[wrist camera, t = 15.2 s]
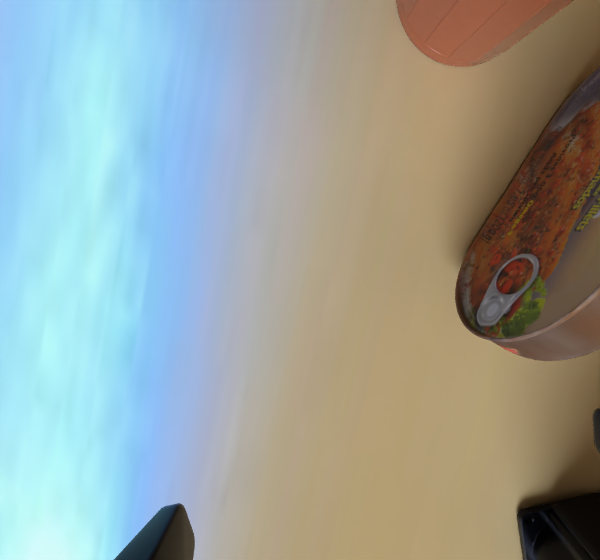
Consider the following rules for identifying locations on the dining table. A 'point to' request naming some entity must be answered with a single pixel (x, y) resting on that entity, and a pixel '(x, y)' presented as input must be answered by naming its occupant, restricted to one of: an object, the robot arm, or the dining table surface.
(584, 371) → the dining table surface
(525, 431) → the dining table surface
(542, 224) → the tin
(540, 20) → the pot
